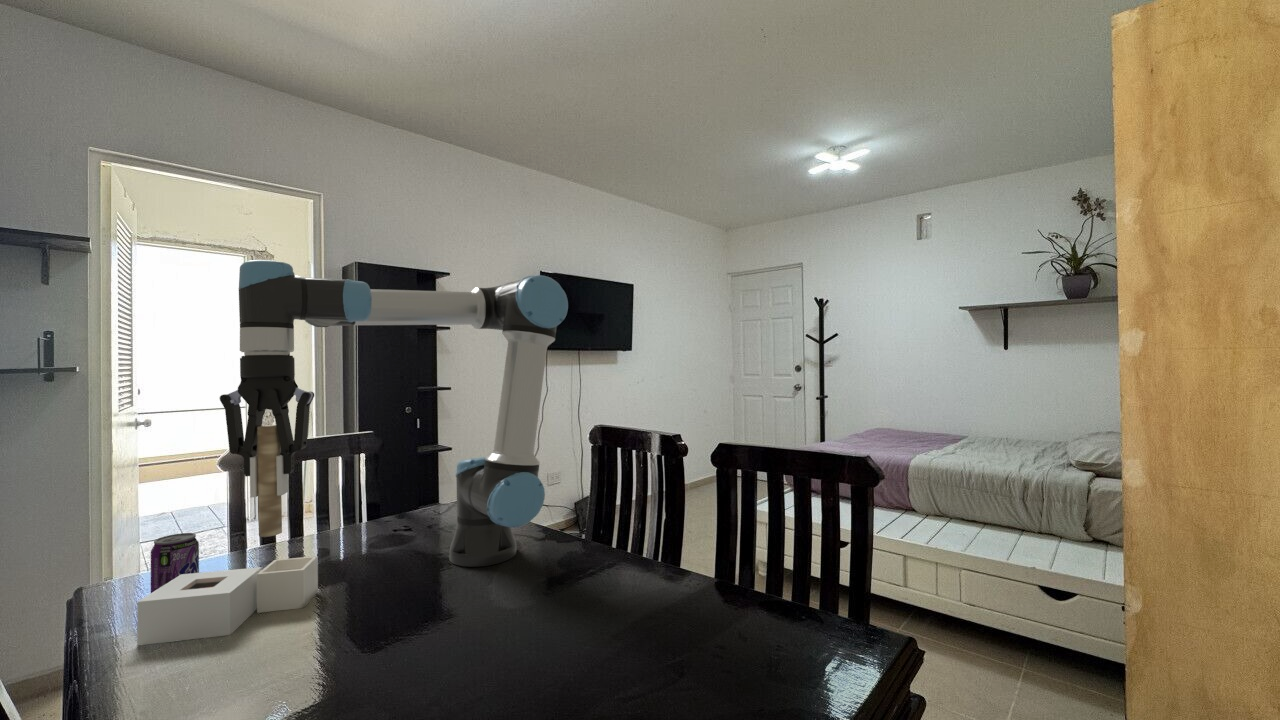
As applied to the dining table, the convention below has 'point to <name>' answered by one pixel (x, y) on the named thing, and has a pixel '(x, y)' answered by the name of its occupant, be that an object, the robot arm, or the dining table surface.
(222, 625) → the box
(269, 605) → the pen cup
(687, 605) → the dining table surface
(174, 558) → the beverage can
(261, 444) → the wooden cylinder rod
